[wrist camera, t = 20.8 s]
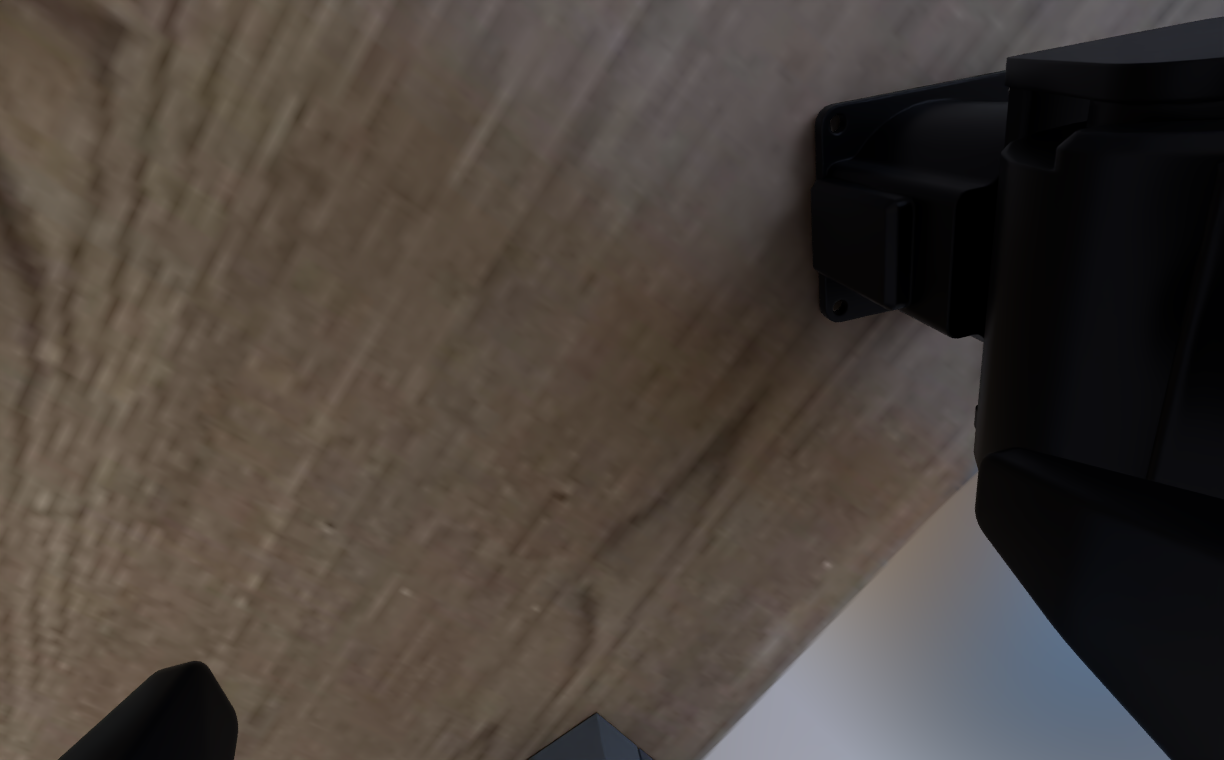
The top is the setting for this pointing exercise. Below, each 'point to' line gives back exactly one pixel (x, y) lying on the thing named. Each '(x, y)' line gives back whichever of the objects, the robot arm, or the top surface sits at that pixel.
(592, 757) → the grey books
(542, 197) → the top surface
